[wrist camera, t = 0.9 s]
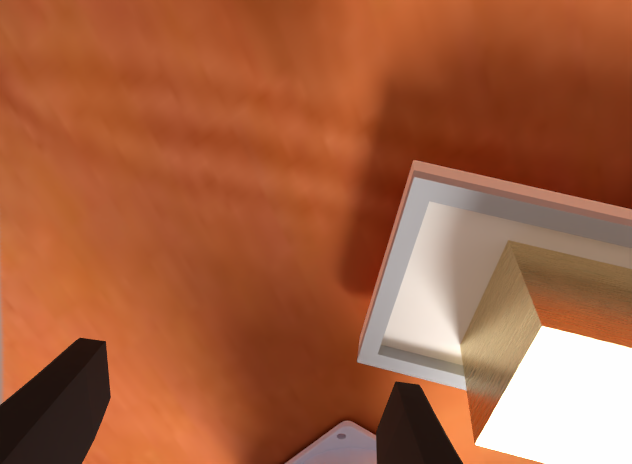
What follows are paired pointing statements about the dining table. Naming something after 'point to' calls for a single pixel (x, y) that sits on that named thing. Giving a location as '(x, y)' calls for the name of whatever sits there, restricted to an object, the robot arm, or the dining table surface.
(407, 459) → the robot arm
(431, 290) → the beam
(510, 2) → the dining table surface
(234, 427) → the dining table surface
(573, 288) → the brass bar
